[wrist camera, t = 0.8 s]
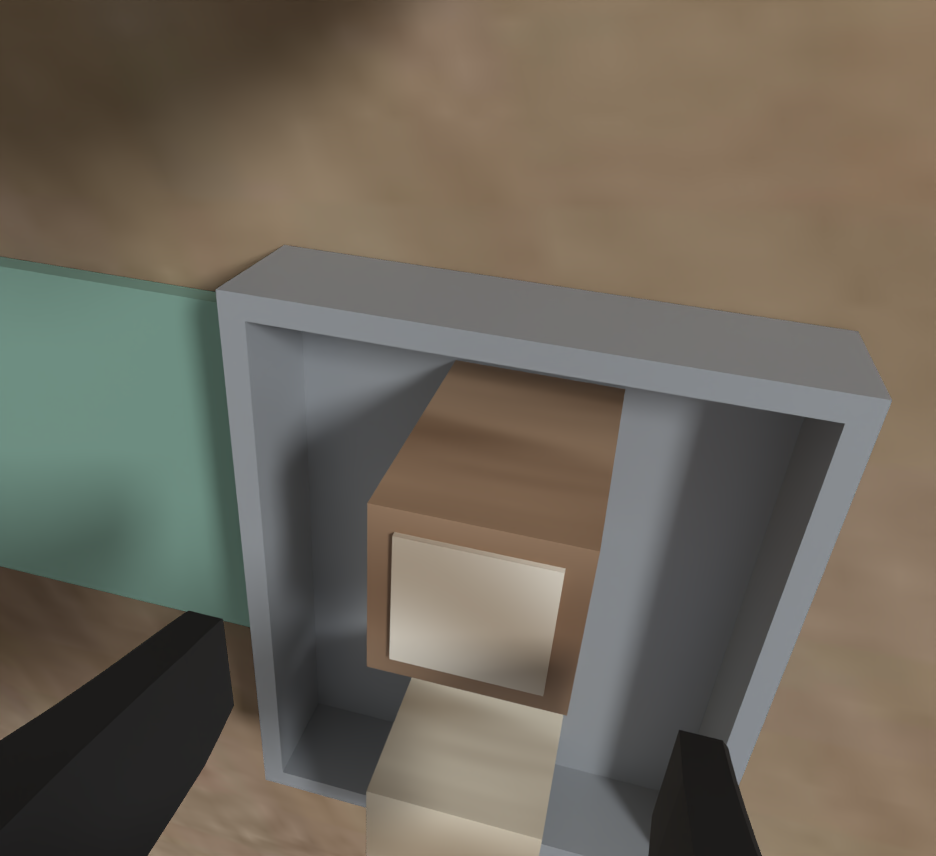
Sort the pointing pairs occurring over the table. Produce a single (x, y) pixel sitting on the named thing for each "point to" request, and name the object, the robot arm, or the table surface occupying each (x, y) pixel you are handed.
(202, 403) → the mat
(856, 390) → the tray
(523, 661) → the walnut block
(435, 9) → the table surface
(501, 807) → the birch block
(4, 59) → the table surface
